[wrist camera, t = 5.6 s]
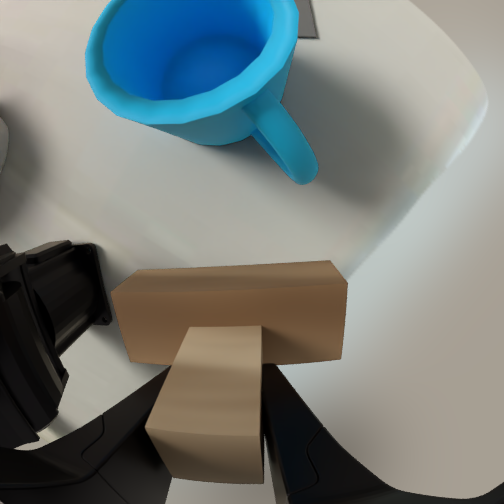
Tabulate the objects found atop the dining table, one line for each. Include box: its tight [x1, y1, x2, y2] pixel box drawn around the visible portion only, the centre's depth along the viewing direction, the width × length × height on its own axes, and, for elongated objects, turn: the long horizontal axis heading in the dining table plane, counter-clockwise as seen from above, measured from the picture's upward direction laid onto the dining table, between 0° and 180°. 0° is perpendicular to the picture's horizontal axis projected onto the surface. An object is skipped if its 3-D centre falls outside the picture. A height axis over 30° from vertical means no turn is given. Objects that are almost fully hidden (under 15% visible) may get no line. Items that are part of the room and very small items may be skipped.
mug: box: [85, 0, 319, 185], centre depth 11 cm, size 12×8×8 cm
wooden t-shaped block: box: [110, 260, 348, 484], centre depth 8 cm, size 4×8×7 cm, turn 94°
